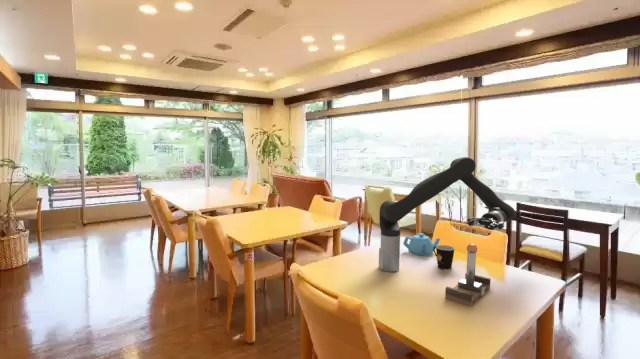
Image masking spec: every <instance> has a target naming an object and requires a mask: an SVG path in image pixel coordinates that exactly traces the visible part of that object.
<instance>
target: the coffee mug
mask: <svg viewBox="0 0 640 359" xmlns="http://www.w3.org/2000/svg"><path fill="white" fill-rule="evenodd" d="M435 248H436V249H435ZM455 250H456V249H455V247H454V246H452V245H447V244H440V245H439V244H438V245H437V246H436V247H434V248H433V253H434V255H435V256H436V262H437V263H436V264H437V268H439V269H440V270H445V271H446V270H451V269H452V267H453V266H452V265H453V262H454V261H453V260H454V254H455Z"/></svg>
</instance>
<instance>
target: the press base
mask: <svg viewBox="0 0 640 359" xmlns="http://www.w3.org/2000/svg"><path fill="white" fill-rule="evenodd" d="M464 277H465V278H464V279H466V273H465V276H464ZM491 281H492V280H491V278H489V277H486V276H483V275H478V274H475V281H474V282H478V283H481V284H482V289H481V290H480V291H479V292H475V291H472V290H468V289H465V288H461V287H458V284H456V285H455V286H453V287H450V286H446V287H445V292H444V293H445V297H444V298H445V300H449V301H453V302H456V303H459V304H461V305H465V306H468V307H472V306H473V305H474V304H475V303H476V302H477V301H479V300H480V298H483V297H484V296H485V294H486V293H487V292H488V291H489V290H490V289H491Z"/></svg>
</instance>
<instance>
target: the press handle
mask: <svg viewBox="0 0 640 359" xmlns="http://www.w3.org/2000/svg"><path fill="white" fill-rule="evenodd" d="M466 251H467V254H466V255H467V257H466V272H465V274H466V279H465V278H461V279H460V280H459V281H457V285H458V287H461V288H465V289H468V290H472V291H475V292H479V291H480V290H481V289H482V284H481V283H478V282H474V281H475V275H476V265H477V264H476V263H477V252H478V247H477V245H476V244H475V243H469V244H468V245H467V246H466Z"/></svg>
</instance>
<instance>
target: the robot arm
mask: <svg viewBox="0 0 640 359" xmlns="http://www.w3.org/2000/svg"><path fill="white" fill-rule="evenodd" d="M476 166H477V165H476V161H475V160H474V159H473V158H472V157H469V156H463V157H458V158H455V159H453V160H452V161H451V162H450V166H449V167H448V168H447V169H445V170H443V171H440V172H438V173H435V174H433V175H431V176H428V177H427V178H425V179H423V180H422V181H420V182H419V183H417V184H415V186H414V187H413V189H412V190H411V191H410V192H409V193H408V194H407V195H406V196H405V197H403V198H401V199H400V200H397V201H393V200H385V201H384V202H382V203H381V205H380V206H379V228H380V247H378V248H379V249H378V268H379V269H380V270H381V271H382V272H390V273H393V272H394V273H395V272H398V271H400V256H401V255H400V254H401V253H400V252H401V249H400V248H401V228H400V226H399V223H398V222H399V221H401V220H402V219H403V218H405V217H406V216H407V215H408V214H410V212H412V211H413V210H415V209H416V208H418V207H420V206H421V205H423V204H424V203H427V201H429V200H431V199H432V198H434V197H436V196H437V195H439V194H440V193H442V192H443V191H444V190H446V189H448V188H449V187H450V186H452V185H453V184H454V183H456V182H458V181H461V182H462V183H463V184H464V185H466V186H467V187H468V188H469V189H470V190H471V191H472V192H473V193H474V194H475V196H476V197H478V198H479V200H480V201H481V202H482V203H483V204H484V206H486V208H487V209H490V210H491V209H495V210H491V211H489V212H486V213H483V214H482V216H481V217H475V216H471V217H468V218H467V224H468V227H472V226H476V227H483V228H484V229H487V230H490V231H492V230H497V229H498V230H503V229H504V228H505V223H506V222H508V221H510V220H513V219H514V218H515V217H516V216H517V213H516V210H515V209H514V207H512V206H511V205H510V204H509V203H507V202H505V201H504V200H503V199H501V198H499V196H498V195H497V194H496V193H495V191H494V190H493V189H492V188H490V186H488V185H487V184H485V183H483V181H481V180H480V179H479V178H477V176H475V175H474V174H473V173H474V172H475V170H476Z"/></svg>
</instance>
